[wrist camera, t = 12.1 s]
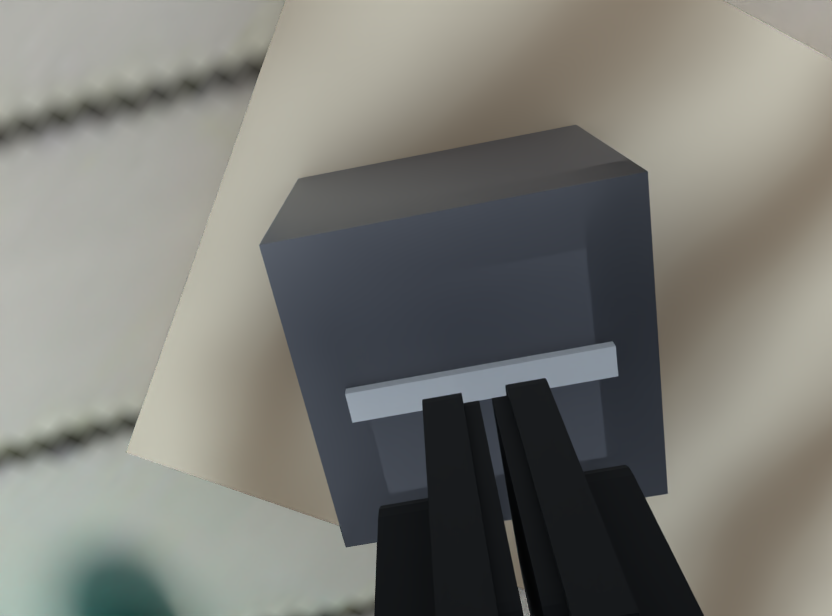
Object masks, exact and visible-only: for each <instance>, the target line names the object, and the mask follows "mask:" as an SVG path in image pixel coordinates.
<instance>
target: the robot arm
mask: <svg viewBox="0 0 832 616" xmlns="http://www.w3.org/2000/svg"><path fill="white" fill-rule="evenodd" d="M505 388H506V396H501V397H495V398H492V404H493V410H494V416H495V422H496V428H497V434H498V440H499V446H500V452H501V458H502V464H503V470H504V476H505V482H506V488H507V494H508V500H509V506H510V512H511V518H512V524H513V530H514V535H515V541H516V547H517V553H518V559H519V564H520V569H521V574H522V579H523V584H524V588H525V593H526V597H527V602H528V607H529V611H530V616H704V614H703V612H702V610H701V608H700V606H699V604H698V602H697V600H696V598H695V596H694V594H693V592H692V590H691V588H690V586H689V584H688V582H687V580H686V578H685V576H684V574H683V572H682V570H681V568H680V566H679V564H678V562H677V560H676V558H675V556H674V554H673V552H672V550H671V548H670V546H669V544H668V542H667V540H666V538H665V536H664V534H663V532H662V530H661V528H660V526H659V524H658V522H657V520H656V518H655V516H654V514H653V512H652V510H651V508H650V506H649V504H648V502H647V500H646V498H645V496H644V494H643V492H642V490H641V488H640V486H639V484H638V482H637V480H636V478H635V476H634V475H633V473H632V471H631V470H630V468H629V467H628V466H627V465H620V466H614V467H608V468H602V469H596V470H590V471H584V472H583V470H582V467H581V465H580V462H579V460H578V457H577V455H576V452H575V450H574V447H573V445H572V442H571V440H570V437H569V435H568V432H567V430H566V427H565V425H564V422H563V419H562V417H561V414H560V412H559V409H558V407H557V404H556V402H555V399H554V397H553V394H552V392H551V389H550V387H549V384H548V382H547V380H546V378H542V379H536V380H530V381H525V382H519V383H513V384H508V385H505ZM422 409H423V425H424V441H425V456H426V472H427V488H428V498H424V499H418V500H412V501H406V502H400V503H394V504H388V505H382V506H380V508H379V513H378V533H377V561H376V588H375V616H523V611H522V606H521V601H520V596H519V591H518V586H517V582H516V577H515V572H514V567H513V562H512V557H511V553H510V548H509V543H508V538H507V533H506V528H505V524H504V519H503V514H502V509H501V504H500V499H499V494H498V490H497V485H496V480H495V475H494V470H493V465H492V461H491V456H490V451H489V446H488V441H487V436H486V432H485V427H484V422H483V417H482V412H481V407H480V403H479V400H478V401H473V402H467V403H463V398H462V393H456V394H451V395H445V396H439V397H434V398H428V399H423V400H422Z"/></svg>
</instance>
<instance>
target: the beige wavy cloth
mask: <svg viewBox="0 0 832 616" xmlns="http://www.w3.org/2000/svg"><path fill="white" fill-rule="evenodd" d="M572 125H578V126H579V127H581V128H582V129H584V130H585V131H587V132H588V133H590V134H591V135H593V136H594V137H596V138H597V139H599V140H601V141H602V142H604V143H605V144H607V145H608V146H610V147H611V148H613V149H614V150H616V151H617V152H619V153H620V154H622V155H624V156H625V157H627V158H628V159H630V160H631V161H633V162H634V163H636V164H637V165H639V166H640V167H642V168H643V169H645V170H647V171H648V181H649V197H650V213H651V229H652V245H653V261H654V277H655V293H656V310H657V326H658V342H659V358H660V374H661V390H662V406H663V422H664V438H665V454H666V470H667V486H668V494H664V495H658V496H652V497H646V500H647V502H648V504H649V506H650V508H651V510H652V512H653V514H654V516H655V518H656V520H657V522H658V524H659V526H660V528H661V530H662V532H663V534H664V536H665V538H666V540H667V542H668V544H669V546H670V548H671V550H672V552H673V554H674V556H675V558H676V560H677V562H678V564H679V566H680V568H681V570H682V572H683V574H684V576H685V578H686V580H687V582H688V584H689V586H690V588H691V590H692V592H693V594H694V596H695V598H696V600H697V602H698V604H699V606H700V608H701V610H702V612H703V614H704V616H832V59H831V58H829V57H827V56H825V55H824V54H822V53H820V52H818V51H816V50H814V49H812V48H811V47H809V46H807V45H805V44H803V43H801V42H799V41H798V40H796V39H794V38H792V37H790V36H788V35H786V34H785V33H783V32H781V31H779V30H777V29H775V28H773V27H772V26H770V25H768V24H766V23H764V22H762V21H760V20H759V19H757V18H755V17H753V16H751V15H749V14H747V13H746V12H744V11H742V10H740V9H738V8H736V7H735V6H733V5H731V4H729V3H727V2H725V1H723V0H285V2H284V5H283V8H282V11H281V14H280V17H279V19H278V22H277V25H276V28H275V31H274V34H273V36H272V39H271V42H270V45H269V48H268V51H267V54H266V56H265V59H264V62H263V65H262V68H261V71H260V73H259V76H258V79H257V82H256V85H255V88H254V90H253V93H252V96H251V99H250V102H249V105H248V107H247V110H246V113H245V116H244V119H243V122H242V124H241V127H240V130H239V133H238V136H237V139H236V142H235V144H234V147H233V150H232V153H231V156H230V159H229V161H228V164H227V167H226V170H225V173H224V176H223V178H222V181H221V184H220V187H219V190H218V193H217V195H216V198H215V201H214V204H213V207H212V210H211V212H210V215H209V218H208V221H207V224H206V227H205V229H204V232H203V235H202V238H201V241H200V244H199V247H198V249H197V252H196V255H195V258H194V261H193V264H192V266H191V269H190V272H189V275H188V278H187V281H186V283H185V286H184V289H183V292H182V295H181V298H180V300H179V303H178V306H177V309H176V312H175V315H174V317H173V320H172V323H171V326H170V329H169V332H168V334H167V337H166V340H165V343H164V346H163V349H162V352H161V354H160V357H159V360H158V363H157V366H156V369H155V371H154V374H153V377H152V380H151V383H150V386H149V388H148V391H147V394H146V397H145V400H144V403H143V405H142V408H141V411H140V414H139V417H138V420H137V422H136V425H135V428H134V431H133V434H132V437H131V440H130V442H129V445H128V448H127V451H126V453H128V454H131V455H134V456H137V457H140V458H143V459H146V460H148V461H151V462H154V463H157V464H160V465H163V466H166V467H169V468H172V469H175V470H178V471H181V472H183V473H186V474H189V475H192V476H195V477H198V478H201V479H204V480H207V481H210V482H213V483H216V484H219V485H221V486H224V487H227V488H230V489H233V490H236V491H239V492H242V493H245V494H248V495H251V496H254V497H257V498H259V499H262V500H265V501H268V502H271V503H274V504H277V505H280V506H283V507H286V508H289V509H292V510H295V511H297V512H300V513H303V514H306V515H309V516H312V517H315V518H318V519H321V520H324V521H327V522H330V523H333V524H335V525H338V526H340V525H339V522H338V518H337V515H336V511H335V508H334V504H333V501H332V498H331V494H330V491H329V487H328V484H327V480H326V477H325V473H324V470H323V466H322V463H321V459H320V456H319V452H318V449H317V445H316V442H315V438H314V435H313V431H312V428H311V424H310V421H309V417H308V414H307V411H306V407H305V404H304V400H303V397H302V393H301V390H300V386H299V383H298V379H297V376H296V372H295V369H294V365H293V362H292V358H291V355H290V351H289V348H288V344H287V341H286V337H285V334H284V331H283V327H282V324H281V320H280V317H279V313H278V310H277V306H276V303H275V299H274V296H273V292H272V289H271V285H270V282H269V278H268V275H267V271H266V268H265V264H264V261H263V257H262V254H261V250H260V247H259V244H260V243H261V241H262V239H263V237H264V236H265V234H266V232H267V231H268V229H269V227H270V226H271V224H272V222H273V221H274V219H275V217H276V215H277V214H278V212H279V210H280V209H281V207H282V205H283V204H284V202H285V200H286V199H287V197H288V195H289V193H290V192H291V190H292V188H293V187H294V185H295V183H296V182H297V180H298V178H303V177H309V176H314V175H319V174H324V173H329V172H334V171H340V170H345V169H350V168H355V167H360V166H365V165H370V164H376V163H381V162H386V161H391V160H396V159H401V158H407V157H412V156H417V155H422V154H427V153H432V152H438V151H443V150H448V149H453V148H458V147H463V146H468V145H474V144H479V143H484V142H489V141H494V140H499V139H505V138H510V137H515V136H520V135H525V134H530V133H536V132H541V131H546V130H551V129H556V128H561V127H566V126H572ZM504 524H505V528H506V533H507V538H508V543H509V548H510V553H511V557H512V562H513V567H514V572H515V577H516V582H517V586H518V587H520V588H522V589H525V588H524V584H523V579H522V574H521V569H520V564H519V559H518V553H517V547H516V541H515V535H514V530H513V524H512V520H507V521H504Z"/></svg>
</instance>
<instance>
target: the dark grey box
mask: <svg viewBox="0 0 832 616" xmlns="http://www.w3.org/2000/svg"><path fill="white" fill-rule="evenodd" d="M259 247H260V250H261V254H262V257H263V261H264V264H265V268H266V271H267V275H268V278H269V282H270V285H271V289H272V292H273V296H274V299H275V303H276V306H277V310H278V313H279V317H280V320H281V324H282V327H283V331H284V334H285V337H286V341H287V344H288V348H289V351H290V355H291V358H292V362H293V365H294V369H295V372H296V376H297V379H298V383H299V386H300V390H301V393H302V397H303V400H304V404H305V407H306V411H307V414H308V417H309V421H310V424H311V428H312V431H313V435H314V438H315V442H316V445H317V449H318V452H319V456H320V459H321V463H322V466H323V470H324V473H325V477H326V480H327V484H328V487H329V491H330V494H331V498H332V501H333V504H334V508H335V511H336V515H337V518H338V522H339V525H340V529H341V532H342V536H343V539H344V543H345V546H346V547H351V546H357V545H363V544H369V543H375V542H377V533H378V513H379V508H380V506H382V505H388V504H394V503H400V502H406V501H412V500H418V499H424V498H428V488H427V472H426V456H425V441H424V425H423V409H422V400H423V399H428V398H434V397H439V396H445V395H451V394H456V393H462V398H463V403H467V402H473V401H478V400H479V403H480V407H481V412H482V417H483V422H484V427H485V432H486V436H487V441H488V446H489V451H490V456H491V461H492V465H493V470H494V475H495V480H496V485H497V490H498V494H499V499H500V504H501V509H502V514H503V519H504V521H507V520H512V518H511V512H510V506H509V500H508V494H507V488H506V482H505V476H504V470H503V464H502V458H501V452H500V446H499V440H498V434H497V428H496V422H495V416H494V410H493V404H492V398H495V397H501V396H506V388H505V385H508V384H513V383H519V382H525V381H530V380H536V379H542V378H546V380H547V382H548V384H549V387H550V389H551V392H552V394H553V397H554V399H555V402H556V404H557V407H558V409H559V412H560V414H561V417H562V419H563V422H564V425H565V427H566V430H567V432H568V435H569V437H570V440H571V442H572V445H573V447H574V450H575V452H576V455H577V457H578V460H579V462H580V465H581V467H582V470H583V472H584V471H590V470H596V469H602V468H608V467H614V466H620V465H627V466H628V467H629V468H630V470H631V471H632V473H633V475H634V476H635V478H636V480H637V482H638V484H639V486H640V488H641V490H642V492H643V494H644V496H645V498H646V497H652V496H658V495H664V494H668V486H667V470H666V454H665V438H664V422H663V406H662V390H661V374H660V358H659V342H658V326H657V310H656V293H655V277H654V261H653V245H652V229H651V213H650V197H649V181H648V171H647V170H645V169H643V168H642V167H640V166H639V165H637V164H636V163H634V162H633V161H631V160H630V159H628V158H627V157H625V156H624V155H622V154H620V153H619V152H617V151H616V150H614V149H613V148H611V147H610V146H608V145H607V144H605V143H604V142H602V141H601V140H599V139H597V138H596V137H594V136H593V135H591V134H590V133H588V132H587V131H585V130H584V129H582V128H581V127H579V126H578V125H572V126H566V127H561V128H556V129H551V130H546V131H541V132H536V133H530V134H525V135H520V136H515V137H510V138H505V139H499V140H494V141H489V142H484V143H479V144H474V145H468V146H463V147H458V148H453V149H448V150H443V151H438V152H432V153H427V154H422V155H417V156H412V157H407V158H401V159H396V160H391V161H386V162H381V163H376V164H370V165H365V166H360V167H355V168H350V169H345V170H340V171H334V172H329V173H324V174H319V175H314V176H309V177H303V178H298V180H297V182H296V183H295V185H294V187H293V188H292V190H291V192H290V193H289V195H288V197H287V199H286V200H285V202H284V204H283V205H282V207H281V209H280V210H279V212H278V214H277V215H276V217H275V219H274V221H273V222H272V224H271V226H270V227H269V229H268V231H267V232H266V234H265V236H264V237H263V239H262V241H261V243H260V244H259Z"/></svg>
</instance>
